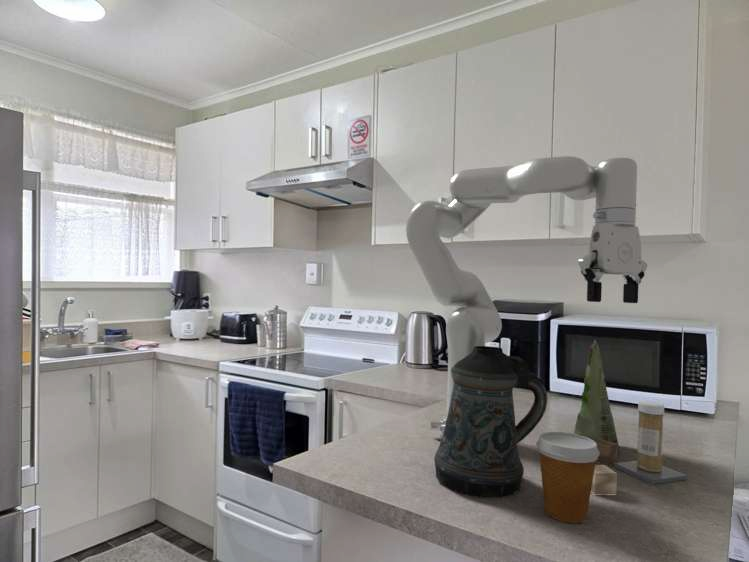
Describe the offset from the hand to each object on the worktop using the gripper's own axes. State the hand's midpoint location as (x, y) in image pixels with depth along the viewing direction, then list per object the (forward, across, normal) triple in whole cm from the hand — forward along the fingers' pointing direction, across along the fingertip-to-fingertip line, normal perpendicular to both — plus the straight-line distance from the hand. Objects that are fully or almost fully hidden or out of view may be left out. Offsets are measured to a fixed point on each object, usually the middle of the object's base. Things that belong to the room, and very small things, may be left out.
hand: (612, 302), depth 99 cm
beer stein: (+34, -28, +2) cm, 44 cm away
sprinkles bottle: (+34, +7, -4) cm, 35 cm away
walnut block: (+34, +3, +4) cm, 35 cm away
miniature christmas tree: (+34, +8, +12) cm, 37 cm away
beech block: (+34, -10, -8) cm, 37 cm away
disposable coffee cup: (+34, -23, -14) cm, 44 cm away
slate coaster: (+34, +7, -4) cm, 35 cm away
